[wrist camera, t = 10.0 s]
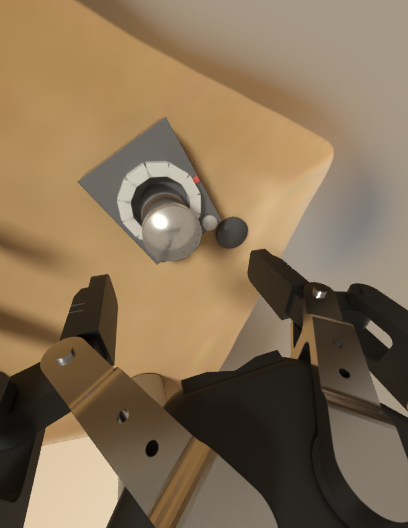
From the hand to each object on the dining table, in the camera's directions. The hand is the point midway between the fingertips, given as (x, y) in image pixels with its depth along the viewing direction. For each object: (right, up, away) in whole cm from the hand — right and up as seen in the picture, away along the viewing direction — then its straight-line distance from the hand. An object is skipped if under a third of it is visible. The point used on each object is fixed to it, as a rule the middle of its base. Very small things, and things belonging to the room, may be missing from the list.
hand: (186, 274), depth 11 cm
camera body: (-5, +9, +14) cm, 17 cm away
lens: (-4, +7, +10) cm, 13 cm away
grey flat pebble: (+5, +6, +20) cm, 22 cm away
